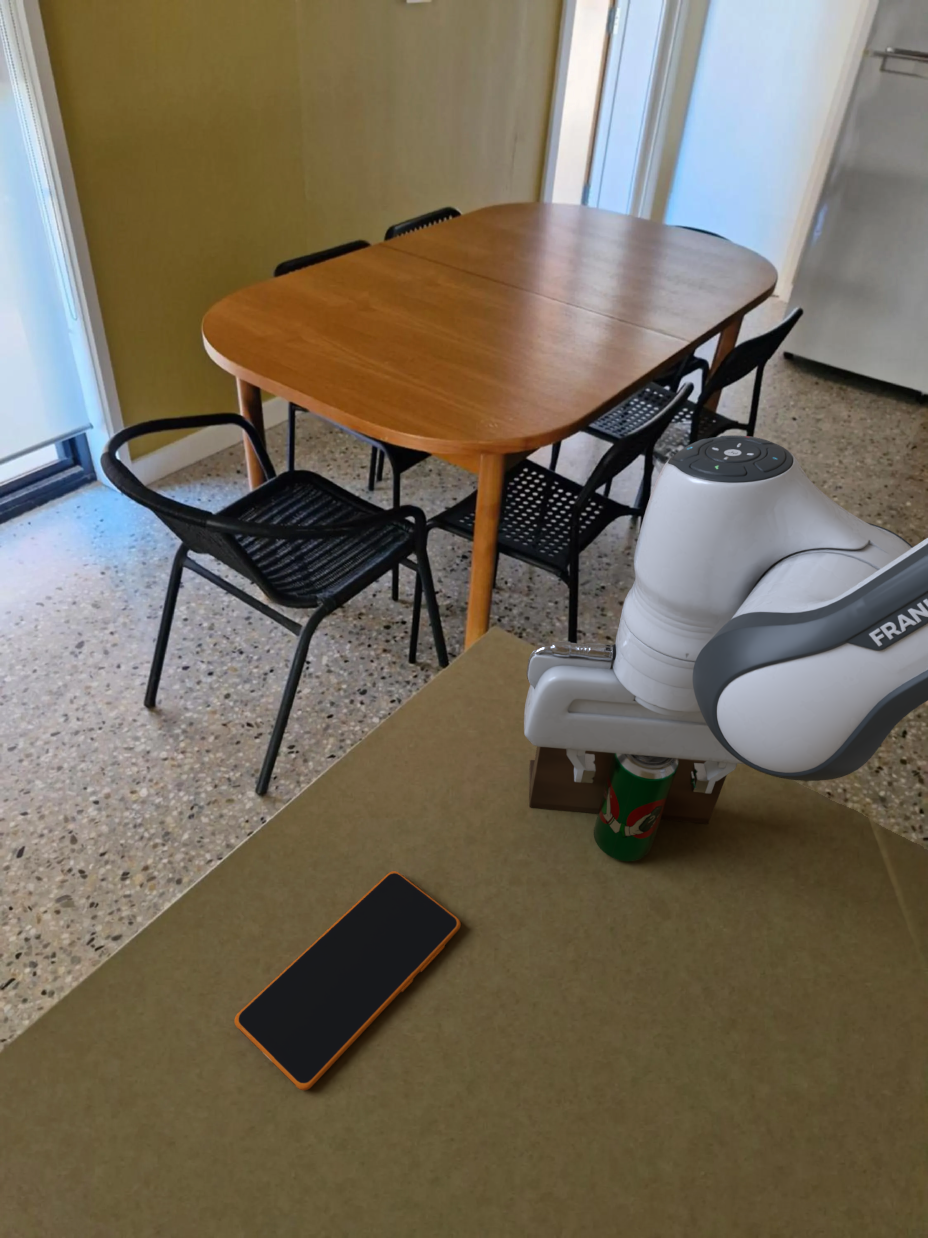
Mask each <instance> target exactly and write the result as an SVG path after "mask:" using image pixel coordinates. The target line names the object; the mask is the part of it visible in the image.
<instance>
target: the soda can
mask: <svg viewBox="0 0 928 1238" xmlns="http://www.w3.org/2000/svg"><path fill="white" fill-rule="evenodd" d="M678 764H679V759H678V758H667V757H656V756H644V755H632V754H620V753H614V754H613V757H612V761H611V765H610V769H609V773H608V777H607V780H606V784H605V788H604V792H603V796H602V800H601V804H600V807H599V811H598V814H596V819H595V822H594V827H593V838H594V841H595V843H596V845H597V846H598V848H599V849H600V850H601V851H602V852H603V853H604V854H606V855H607V856H608V857H610V858H612V859H614V860H617V861H622V862H635V861H639V860H641V859H643V858H644V857H646V856H647V855H648V854H649V853H650V851H651V850H652V846H653V843H654V841H655V838H656V835H657V831H658V828H659V825H660V822H661V817H662V814H663V811H664V808H665V805H666V802H667V799H668V796H669V792H670V789H671V786H672V783H673V780H674V777H675V774H676V771H677V768H678Z"/></svg>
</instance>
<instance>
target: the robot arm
mask: <svg viewBox="0 0 928 1238" xmlns="http://www.w3.org/2000/svg"><path fill="white" fill-rule="evenodd" d="M633 555H634V556H633V568H634V569H633V570H634V582H633V584H632V586H631V587H630V589H629V590H628V592H627V594H626V596H625V598H624V601H623V604H622V609H621V615H620V619H619V624H618V628H617V632H616V636H615V642H614V644H607V643H605V644H604V643H593V642H592V643H576V642H571V641H568V640H553V641H551V644H550V645H549V644H548V645H543V646H540V647H538V648H536V649H533V651H532V652H531V653H530V655H529V657H528V659H527V666H526V679H527V681H528V682H529V688H528V691H527V695H526V699H525V704H524V712H523V713H524V714H523V715H524V716H523V733H524V737H525V738H526V739H527V740H528V741H529V742H530V744H531V745H532V746H535V747H537V746H538V747H550V748H562V749H566V750H567V756H568V758H569V759H570V761H571V762H572V764H573V765H574V782H582V783H593V781H594V778H593V777H595V772H596V768H595V764H594V763H595V755H594V754H585V751H597V752H609V753H620V754H632V755H644V756H656V757H667V758H679V759H691V760H703V761H706V762H705V763H704V764H702V763H694V765H693V768H692V770H693V771H692V772H691V774H690V784H691V785H692V787H691V790H692V792H698V793H709V794H711V793H712V790H713V787H714V784H715V781H718V780H720V779H721V778H723V777H724V776H726V775H727V776H728V775H729V774H730V773H732V772H733V771H735V770H736V769H737V765H746V766H747V767H749V768H751V769H752V770H753V769H754V770H755V771H758V772H760V773H762V774H765V775H768V776H772V777H774V778H779V779H785V780H790V781H800V782H801V781H802V782H818V781H820V782H821V781H829V780H835V779H840V778H843V777H846V776H848V775H850V774H852V773H854V772H856V771H858V770H859V769H860V768H862V767H864V765H865V764H867V762H869V761H870V760H871V758H872V757H873V756H874V755H875V753H876V752H877V751H878V749H879V748H880V747H881V745H882V744H883V743H884V741H885V740H886V738H887V737H888V736H889V735H890V733H891V732H892V731H893V730H894V728H895V727H896V726H897V725H898V724H899V723H900V722H901V721H902V720H903V719H904V718H905V717H906V716H908V715H909V714H910V713H912V712H913V711H915V709H917V708H918V707H920V706H922V705H923V704H925V703H927V702H928V537H927V538H925V539H923V540H922V541H920V542H919V543H916V544H915V545H914V546H913V545H912V544H910V542H908V541H907V540H906V539H905V538H903V537H902V536H900V535H899V534H897V533H896V532H894V531H891V530H889V529H888V528H885V527H884V526H880V525H877V524H874V523H871V522H866V521H865V520H863V519H861V518H859V517H858V516H856V515H855V514H853V513H852V512H850V511H848V510H847V509H846V508H844V507H842V506H841V505H840V504H839V503H837V502H836V501H834V500H833V499H832V498H830V497H829V496H828V495H827V494H826V493H824V492H823V491H822V490H821V489H820V488H819V487H818V486H816V484H814V482H813V481H812V480H811V478H809V476H808V475H807V473H806V472H805V470H804V469H803V467H802V466H801V464H800V462H799V460H798V459H797V457H796V456H795V455H794V454H793V453H792V452H791V451H789V450H788V449H787V448H785V447H784V446H782V445H780V444H779V443H778V444H777V443H775V442H772V441H771V440H767V439H764V438H761V437H756V436H749V435H731V434H730V435H720V436H716V437H709V438H703V439H699V440H697V441H695V442H692V443H690V444H688V445H687V446H685V447H683V448H682V449H680V450H678V452H676V453H675V454H674V455H672V456H671V457H669V459H668V460H667V461H666V463H665V464H664V465H663V467H662V468H661V469H660V472H659V474H658V476H657V478H656V481H655V483H654V485H653V488H652V490H651V494H650V496H649V500H648V502H647V504H646V508H645V512H644V515H643V519H642V522H641V526H640V529H639V533H638V538H637V542H636V545H635V550H634V554H633ZM727 776H726V777H727Z"/></svg>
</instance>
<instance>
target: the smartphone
mask: <svg viewBox="0 0 928 1238" xmlns="http://www.w3.org/2000/svg"><path fill="white" fill-rule="evenodd" d="M461 925H462V924H461V920H460V919H459V918H458V917H457V916H455V915H454V914H453V913H452V912H451V911H449V910H448V909H447V908H446V907H444V906H442V904H440V903H438V901H436V900H435V899H434V898H433V897H431V896H430V895H429V894H427V893H426V892H425V891H423V890H422V889H421V888H419V886H417V885H416V884H414V882H412V881H411V880H409V879H407V877H405V876H404V875H403V874H402V873H400V872H398V871H396V870H395V871H394V870H393V871H390V872H388V873H386V875H385V876H383V877H382V878H381V879H380V880H379V881H378V882H377V883H376V884H375V885H374V886H373V887H372V888H371V889H370V890H368V892H366V894H364V895H363V896H362V897H361V898H360V899H359V900H358V901H357V902H356V903H355V904H354V905H353V906H351V908H349V910H347V911H346V912H345V913H344V914H343V915H342V916H341V917H339V918H338V919H337V920H336V921H335V922H334V923H333V924H332V925H331V926H330V927H329V928H327V930H325V931H324V933H322V934H321V935H320V936H319V937H318V938H317V939H316V940H315V941H314V942H313V943H311V944H310V946H308V947H307V948H306V949H305V950H304V951H303V952H302V953H301V954H300V955H299V956H298V957H297V958H295V960H293V961H292V962H291V963H289V965H288V966H287V967H286V968H285V969H284V970H283V971H281V972H280V974H278V976H276V977H275V978H274V979H273V980H272V981H271V982H270V983H269V984H268V985H267V986H265V988H263V989H262V990H261V991H260V992H259V993H258V994H257V995H255V997H254V998H252V1000H251V1001H249V1002H248V1004H247V1003H246V1005H245V1006H244V1007H243V1008H242V1009H240V1011H239V1012H237V1014H236V1015H235V1017H234V1025H235V1027H236V1029H238V1030H239V1031H240V1032H241V1033H242V1034H243V1035H244V1037H246V1038H247V1040H249V1041H250V1042H251V1043H252V1044H253V1045H254V1046H255V1047H256V1048H257V1049H258V1051H260V1052H261V1053H262V1054H263V1055H264V1056H265V1057H266V1058H267V1059H268V1060H269V1061H270V1062H271V1063H272V1064H273V1065H274V1066H275V1067H276V1068H277V1069H278V1070H279V1071H280V1072H281V1073H282V1074H283V1075H284V1076H285V1077H286V1078H287V1079H288V1081H290V1082H291V1083H292V1084H293V1085H294V1086H295V1087H296V1088H297V1089H298V1090H300V1091H307V1090H309V1089H311V1088H312V1087H313V1086H314V1085H315V1084H316V1083H317V1082H318V1081H319V1079H320V1078H322V1076H323V1075H324V1074H326V1072H327V1071H328V1070H329V1069H330V1068H331V1067H332V1066H333V1065H334V1064H335V1062H336V1061H338V1059H339V1058H340V1057H341V1056H342V1055H343V1054H344V1053H345V1052H346V1051H347V1050H348V1048H350V1047H351V1046H352V1045H353V1044H354V1042H355V1041H356V1040H357V1039H359V1037H360V1036H361V1035H362V1034H363V1032H365V1030H367V1028H369V1027H370V1025H371V1024H373V1022H374V1021H375V1020H376V1019H377V1018H378V1017H379V1015H380V1014H382V1012H384V1010H385V1009H386V1008H388V1006H389V1005H390V1004H391V1003H392V1002H393V1001H394V1000H395V999H396V997H398V995H399V994H400V993H403V992H404V991H405V990H406V989H407V988H408V987H409V986H410V985H411V984H412V983H413V982H414V978H415V977H416V976H417V975H418V974H419V973H422V972H423V971H424V970H425V969H426V968H427V967H428V966H429V965H430V964H431V963H432V962H433V960H435V958H436V957H437V956H438V955H439V954H440V953H441V952H442V951H443V950H444V949H445V947H446V946H445V945H446V944H447V943H448V942H449V941H450V940H451V939H452V938H453V937H454V936H455V935H456V934H457V932H458V931H459V930H460V928H461Z"/></svg>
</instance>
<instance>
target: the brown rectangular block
mask: <svg viewBox="0 0 928 1238" xmlns="http://www.w3.org/2000/svg"><path fill="white" fill-rule="evenodd" d="M585 754H594V755H595V763H594V764H595V768H596V772H595V777H593V778H594V781H593V783H582V782H574V765H573V764H572V762H571V761H570V759H569V758H568V756H567V750H566V749H562V748H550V747H538V746H536V750H535V757H534V759H530V760H529V772H528V773H529V775H528V777H529V779H528V782H529V785H528V787H529V788H528V789H529V793H528V794H529V795H528V798H529V799H528V803H529V804H528V806H529V808H533V809H544V810H554V811H555V810H556V811H565V812H577V813H586V814H596V815H598V811H599V807H600V804H601V800H602V796H603V792H604V788H605V784H606V780H607V777H608V773H609V769H610V765H611V761H612V757H613V754H614V753H609V752H597V751H585ZM678 759H679V758H678ZM705 762H706V761H703V760H691V759H679V764H678V768H677V771H676V774H675V777H674V780H673V783H672V786H671V789H670V792H669V796H668V799H667V802H666V805H665V808H664V811H663V814H662V817H661V820H663V821H672V822H682V823H684V822H685V823H693V824H706V825H709V823H710V820H711V818H712V816H713V812H714V810H715V807H716V804H717V802H718V800H719V796H720V794H721V791H722V789H723V786H724V784H725V782H726V779H727V776H728V774H727V775H726V776H724V777H723V778H721V779H720V780H718V781H715V784H714V787H713V790H712V793H711V794H709V793H698V792H692V790H691V787H692V785H691V784H690V774H691V772H692V771H693V770H692V768H693V765H694V763H702V764H704V763H705ZM661 820H660V821H661Z"/></svg>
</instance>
